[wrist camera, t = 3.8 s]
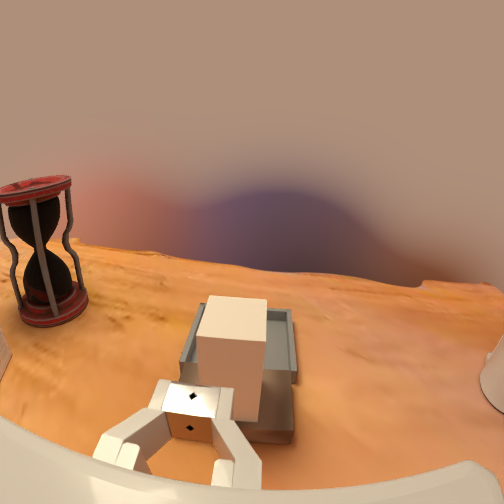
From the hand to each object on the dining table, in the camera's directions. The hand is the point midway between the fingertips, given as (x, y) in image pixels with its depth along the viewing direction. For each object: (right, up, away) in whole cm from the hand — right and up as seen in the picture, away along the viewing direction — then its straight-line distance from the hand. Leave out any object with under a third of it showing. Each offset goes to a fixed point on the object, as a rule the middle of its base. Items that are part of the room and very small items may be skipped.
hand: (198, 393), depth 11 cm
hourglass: (-38, -5, +40) cm, 56 cm away
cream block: (0, -12, +22) cm, 25 cm away
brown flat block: (0, -14, +24) cm, 27 cm away
